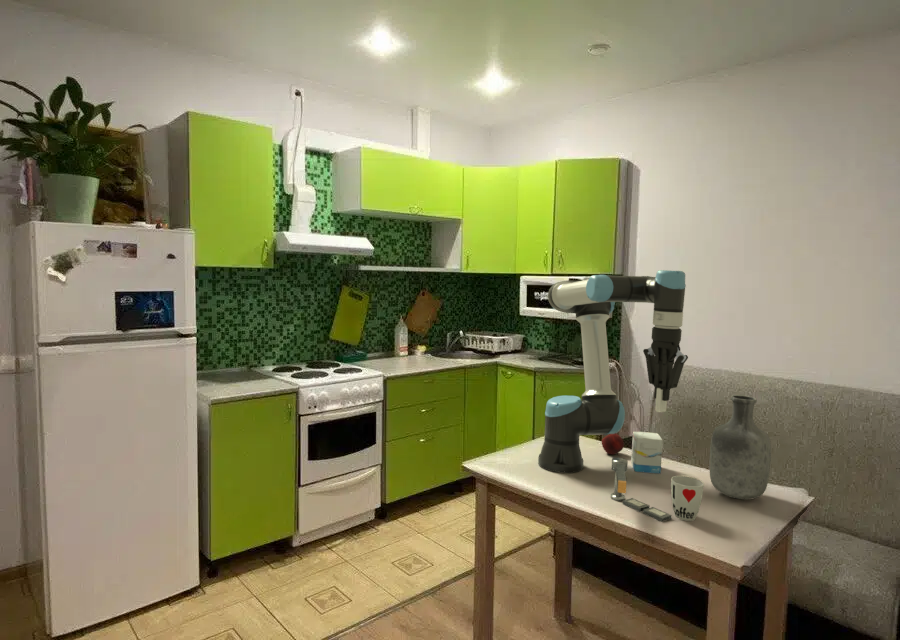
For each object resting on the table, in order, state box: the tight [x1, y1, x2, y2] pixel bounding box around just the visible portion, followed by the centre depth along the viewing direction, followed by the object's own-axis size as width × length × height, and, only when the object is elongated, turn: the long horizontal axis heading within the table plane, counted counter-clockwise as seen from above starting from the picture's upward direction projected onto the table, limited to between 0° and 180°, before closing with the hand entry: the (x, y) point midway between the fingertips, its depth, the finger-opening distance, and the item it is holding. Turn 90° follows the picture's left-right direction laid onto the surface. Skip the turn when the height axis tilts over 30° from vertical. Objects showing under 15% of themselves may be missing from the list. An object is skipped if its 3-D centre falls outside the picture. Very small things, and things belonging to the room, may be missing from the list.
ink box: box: [630, 431, 664, 474], centre depth 186 cm, size 8×8×12 cm
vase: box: [709, 394, 772, 500], centre depth 164 cm, size 16×16×30 cm
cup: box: [670, 475, 705, 522], centre depth 148 cm, size 8×8×10 cm
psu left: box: [622, 497, 651, 513], centre depth 155 cm, size 6×4×1 cm, turn 32°
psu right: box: [642, 506, 672, 522], centre depth 149 cm, size 6×4×1 cm, turn 32°
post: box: [610, 471, 626, 502], centre depth 160 cm, size 4×4×8 cm
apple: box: [601, 433, 625, 456], centre depth 201 cm, size 7×8×8 cm
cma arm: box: [610, 457, 629, 494], centre depth 152 cm, size 20×4×3 cm, turn 165°
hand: (660, 411), depth 152 cm, fingers closed
